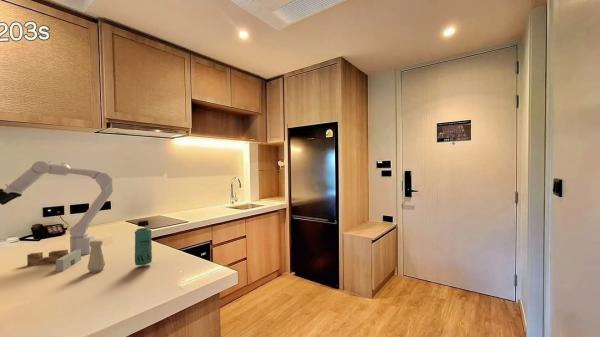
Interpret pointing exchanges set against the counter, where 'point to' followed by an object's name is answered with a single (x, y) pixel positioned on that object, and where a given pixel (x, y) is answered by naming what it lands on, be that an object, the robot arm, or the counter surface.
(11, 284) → the counter surface
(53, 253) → the brown flat bar
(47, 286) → the counter surface
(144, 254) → the beverage bottle
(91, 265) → the salt shaker
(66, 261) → the grey rectangular bar
